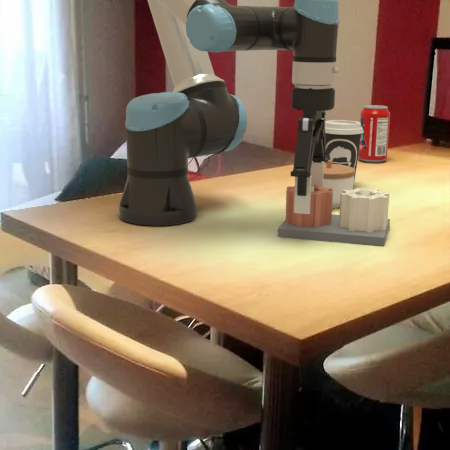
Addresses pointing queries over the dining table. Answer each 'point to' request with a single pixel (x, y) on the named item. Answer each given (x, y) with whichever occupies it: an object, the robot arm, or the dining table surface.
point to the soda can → (374, 133)
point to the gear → (311, 208)
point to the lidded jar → (338, 180)
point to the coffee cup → (343, 142)
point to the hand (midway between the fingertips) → (308, 204)
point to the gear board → (349, 220)
